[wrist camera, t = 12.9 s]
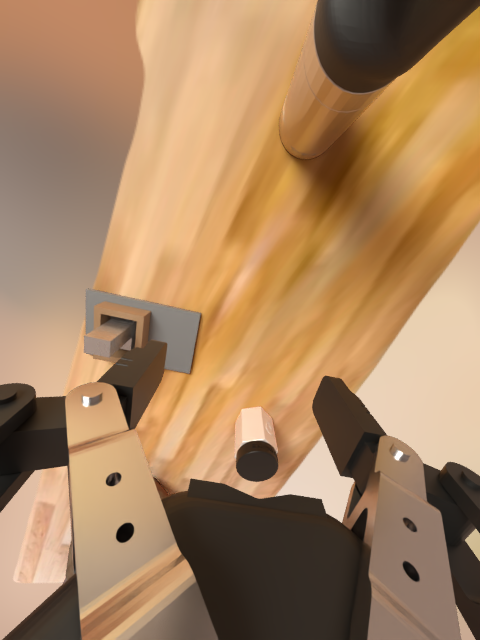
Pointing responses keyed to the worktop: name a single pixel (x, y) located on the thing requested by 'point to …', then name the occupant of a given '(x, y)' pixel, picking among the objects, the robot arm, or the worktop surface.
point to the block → (111, 337)
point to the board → (147, 325)
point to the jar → (255, 445)
